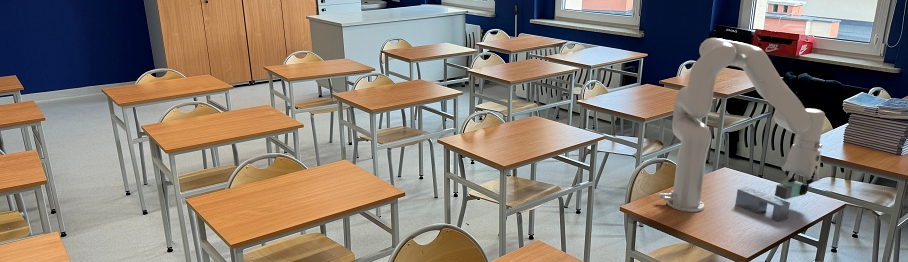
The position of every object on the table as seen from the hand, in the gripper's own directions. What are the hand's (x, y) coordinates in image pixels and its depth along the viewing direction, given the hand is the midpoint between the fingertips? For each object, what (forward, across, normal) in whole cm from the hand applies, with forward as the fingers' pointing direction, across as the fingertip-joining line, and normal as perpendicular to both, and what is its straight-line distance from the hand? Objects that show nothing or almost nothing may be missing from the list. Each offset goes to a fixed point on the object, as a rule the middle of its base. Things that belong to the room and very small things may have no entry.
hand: (796, 191), depth 232 cm
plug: (+1, 0, +4) cm, 4 cm away
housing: (+6, +3, +15) cm, 16 cm away
